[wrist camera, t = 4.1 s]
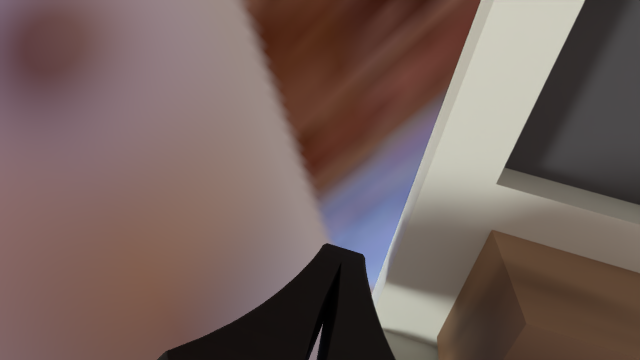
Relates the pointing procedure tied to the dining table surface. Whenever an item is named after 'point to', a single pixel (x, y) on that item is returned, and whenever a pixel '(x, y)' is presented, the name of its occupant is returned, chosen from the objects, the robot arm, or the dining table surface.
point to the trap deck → (521, 156)
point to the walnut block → (542, 307)
